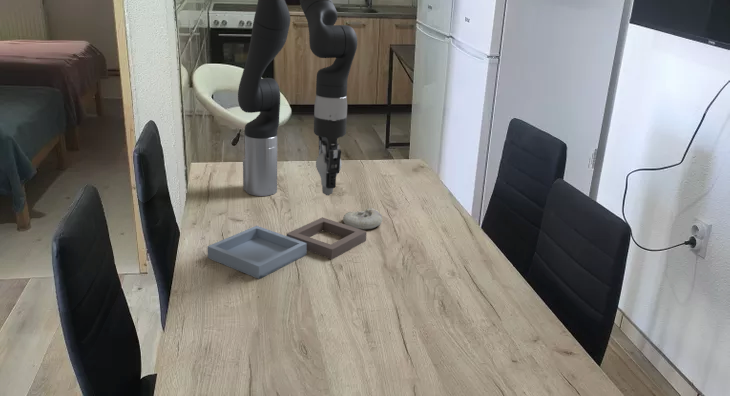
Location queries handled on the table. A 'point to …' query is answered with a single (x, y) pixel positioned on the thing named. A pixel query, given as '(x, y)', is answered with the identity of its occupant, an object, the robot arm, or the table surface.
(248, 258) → the tray
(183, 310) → the table surface
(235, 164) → the table surface
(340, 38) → the robot arm
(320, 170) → the lightbulb
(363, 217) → the fossil
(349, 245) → the brownish grey square frame
